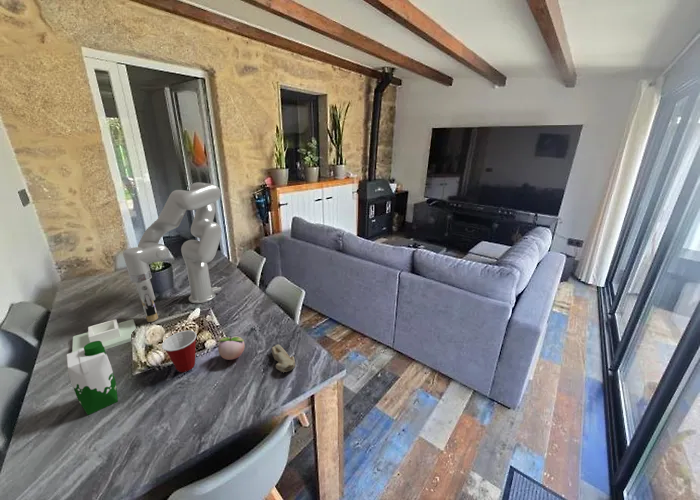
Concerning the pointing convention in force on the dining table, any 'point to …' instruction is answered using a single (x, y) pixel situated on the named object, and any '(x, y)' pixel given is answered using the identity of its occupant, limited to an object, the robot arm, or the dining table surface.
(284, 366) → the sculpture
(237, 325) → the dining table surface
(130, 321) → the chute mount
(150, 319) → the sprinkles bottle
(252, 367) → the dining table surface
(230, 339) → the decorative fruit
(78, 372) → the milk carton
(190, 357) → the plastic cup
